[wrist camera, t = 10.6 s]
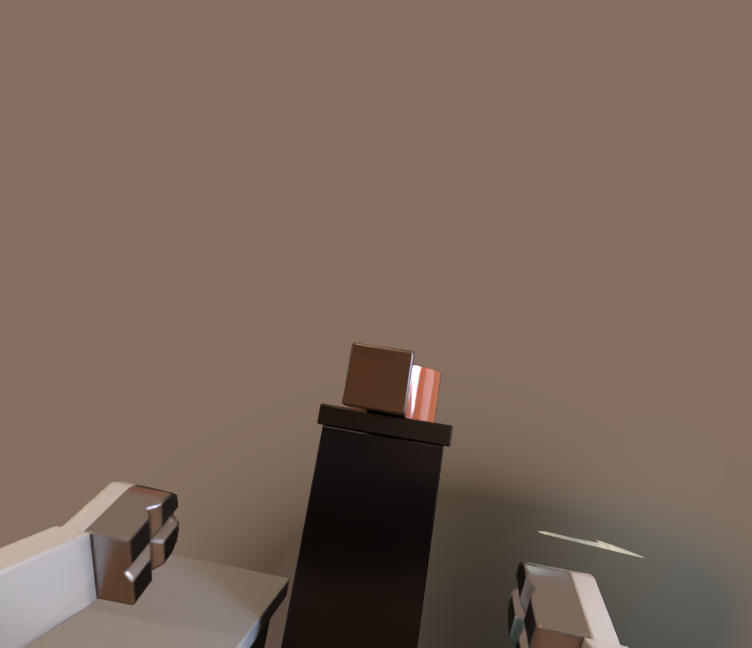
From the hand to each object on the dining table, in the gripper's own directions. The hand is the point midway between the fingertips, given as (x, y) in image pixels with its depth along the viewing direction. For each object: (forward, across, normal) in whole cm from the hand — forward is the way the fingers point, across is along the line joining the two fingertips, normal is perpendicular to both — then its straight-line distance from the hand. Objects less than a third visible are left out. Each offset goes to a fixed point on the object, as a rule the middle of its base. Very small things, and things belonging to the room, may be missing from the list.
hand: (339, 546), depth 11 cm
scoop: (+12, 0, -3) cm, 12 cm away
